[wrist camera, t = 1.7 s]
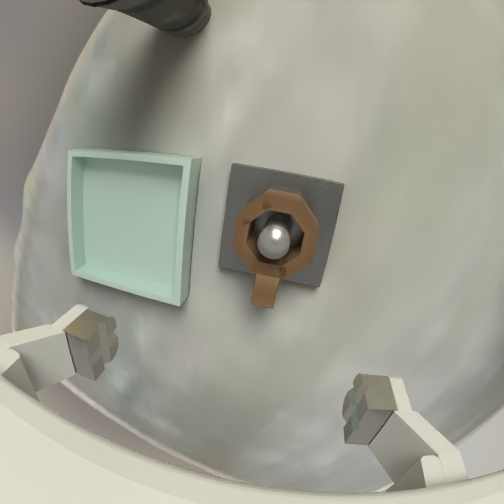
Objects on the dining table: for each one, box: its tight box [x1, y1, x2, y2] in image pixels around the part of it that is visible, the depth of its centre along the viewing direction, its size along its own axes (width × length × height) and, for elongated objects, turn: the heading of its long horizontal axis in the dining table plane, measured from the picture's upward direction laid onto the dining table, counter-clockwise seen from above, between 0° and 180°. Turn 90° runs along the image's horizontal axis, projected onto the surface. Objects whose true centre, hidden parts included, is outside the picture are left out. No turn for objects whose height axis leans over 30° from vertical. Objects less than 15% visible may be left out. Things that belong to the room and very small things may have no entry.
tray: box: [67, 148, 202, 306], centre depth 26 cm, size 13×13×2 cm
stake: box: [219, 163, 344, 287], centre depth 23 cm, size 9×9×5 cm
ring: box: [232, 189, 320, 308], centre depth 23 cm, size 9×6×3 cm
